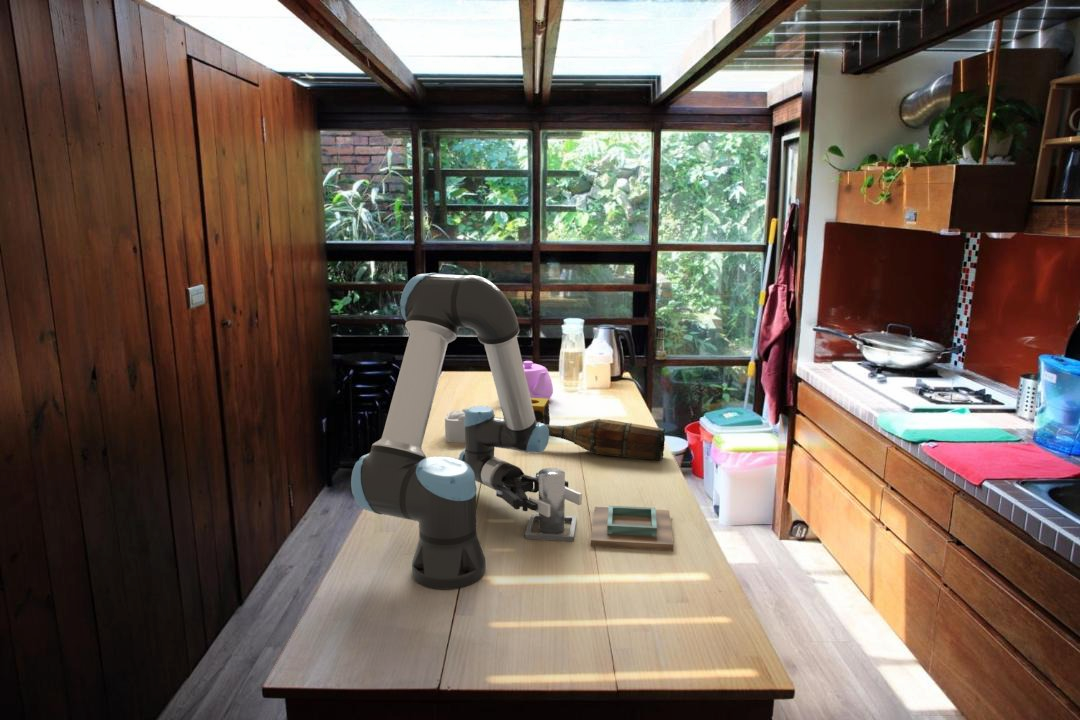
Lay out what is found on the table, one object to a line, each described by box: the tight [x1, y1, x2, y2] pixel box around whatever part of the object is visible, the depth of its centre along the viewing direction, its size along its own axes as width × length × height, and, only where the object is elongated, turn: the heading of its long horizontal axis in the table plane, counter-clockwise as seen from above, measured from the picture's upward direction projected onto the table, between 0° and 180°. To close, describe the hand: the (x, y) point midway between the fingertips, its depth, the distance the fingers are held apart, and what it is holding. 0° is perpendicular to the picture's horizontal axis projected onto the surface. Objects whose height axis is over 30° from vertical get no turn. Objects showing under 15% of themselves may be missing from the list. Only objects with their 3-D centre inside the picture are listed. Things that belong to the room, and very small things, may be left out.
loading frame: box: [524, 513, 578, 542], centre depth 171 cm, size 11×11×1 cm
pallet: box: [590, 505, 674, 552], centre depth 170 cm, size 18×18×4 cm
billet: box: [538, 467, 566, 534], centre depth 170 cm, size 6×6×14 cm
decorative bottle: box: [546, 418, 666, 461], centre depth 221 cm, size 11×11×45 cm
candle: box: [531, 398, 551, 425], centre depth 243 cm, size 10×10×10 cm
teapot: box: [522, 360, 554, 400], centre depth 275 cm, size 23×21×15 cm
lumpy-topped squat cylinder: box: [444, 407, 469, 444], centre depth 235 cm, size 10×13×9 cm
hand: (565, 505), depth 166 cm, fingers open, 9 cm apart
